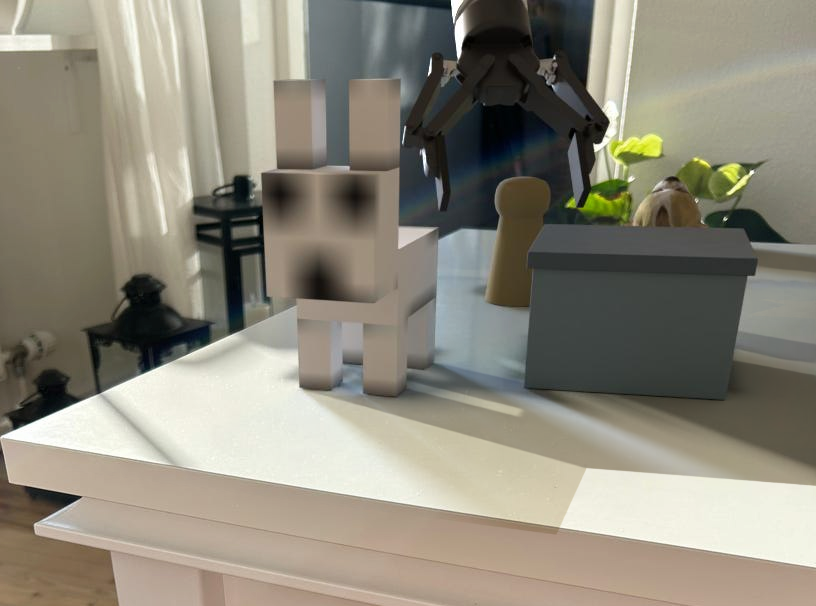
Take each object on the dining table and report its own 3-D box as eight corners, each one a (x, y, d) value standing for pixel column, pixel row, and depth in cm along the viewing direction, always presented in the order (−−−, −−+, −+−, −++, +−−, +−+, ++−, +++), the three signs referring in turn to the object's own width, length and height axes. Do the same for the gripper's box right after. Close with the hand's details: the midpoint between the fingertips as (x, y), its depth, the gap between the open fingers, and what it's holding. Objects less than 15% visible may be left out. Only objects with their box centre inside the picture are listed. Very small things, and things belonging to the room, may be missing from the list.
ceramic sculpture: (722, 166, 120) (719, 189, 109) (711, 243, 125) (706, 273, 113) (629, 165, 124) (616, 188, 112) (622, 240, 128) (608, 270, 117)
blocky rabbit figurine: (442, 353, 83) (453, 73, 73) (373, 417, 69) (374, 81, 59) (356, 346, 86) (354, 74, 76) (272, 407, 71) (256, 81, 61)
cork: (515, 309, 97) (524, 182, 91) (471, 298, 101) (477, 177, 96) (559, 300, 100) (570, 177, 94) (515, 290, 104) (523, 172, 99)
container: (721, 355, 82) (744, 228, 77) (731, 402, 71) (758, 258, 66) (534, 345, 85) (544, 223, 80) (517, 389, 74) (527, 251, 70)
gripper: (600, 50, 108) (628, 222, 103) (366, 54, 107) (382, 229, 101) (622, -12, 101) (654, 170, 96) (372, -9, 100) (390, 176, 94)
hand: (514, 200), depth 99 cm, fingers open, 13 cm apart
